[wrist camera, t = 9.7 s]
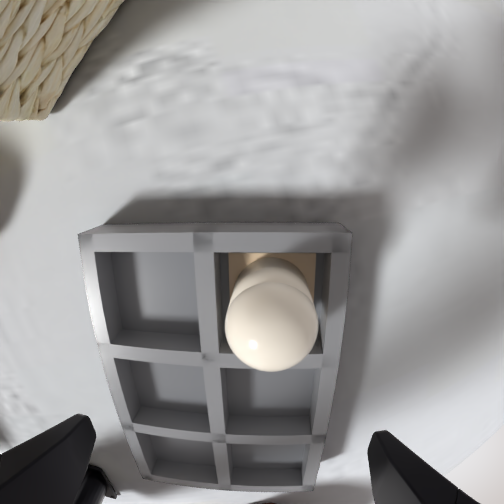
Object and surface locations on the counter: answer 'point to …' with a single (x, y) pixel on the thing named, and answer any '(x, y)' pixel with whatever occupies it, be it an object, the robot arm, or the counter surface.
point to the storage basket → (44, 50)
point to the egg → (271, 316)
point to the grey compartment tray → (213, 350)
